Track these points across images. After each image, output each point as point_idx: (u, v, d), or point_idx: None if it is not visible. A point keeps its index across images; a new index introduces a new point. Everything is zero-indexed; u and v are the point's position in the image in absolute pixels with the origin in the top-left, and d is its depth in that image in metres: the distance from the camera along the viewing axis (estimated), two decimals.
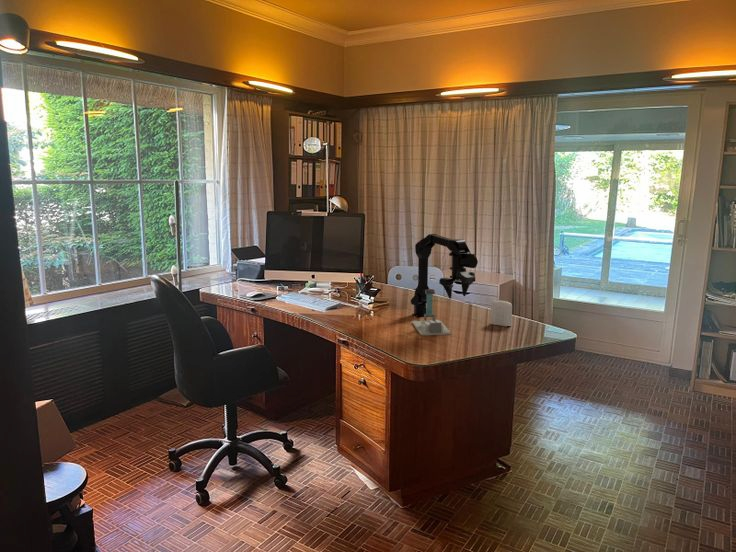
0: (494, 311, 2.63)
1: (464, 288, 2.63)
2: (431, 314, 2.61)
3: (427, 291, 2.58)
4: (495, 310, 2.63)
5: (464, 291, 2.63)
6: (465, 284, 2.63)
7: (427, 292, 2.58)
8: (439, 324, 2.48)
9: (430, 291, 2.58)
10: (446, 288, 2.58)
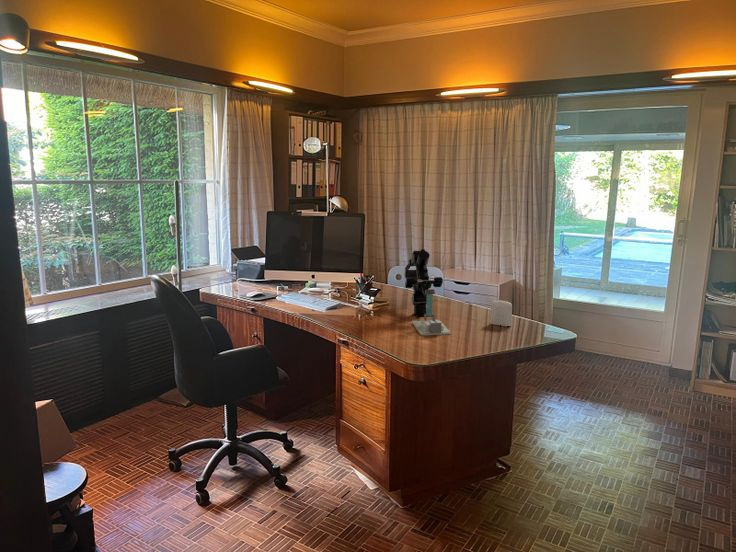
0: (494, 311, 2.63)
1: None
2: (431, 314, 2.61)
3: (427, 291, 2.58)
4: (495, 310, 2.63)
5: None
6: None
7: (427, 292, 2.58)
8: (439, 324, 2.48)
9: (430, 291, 2.58)
10: None
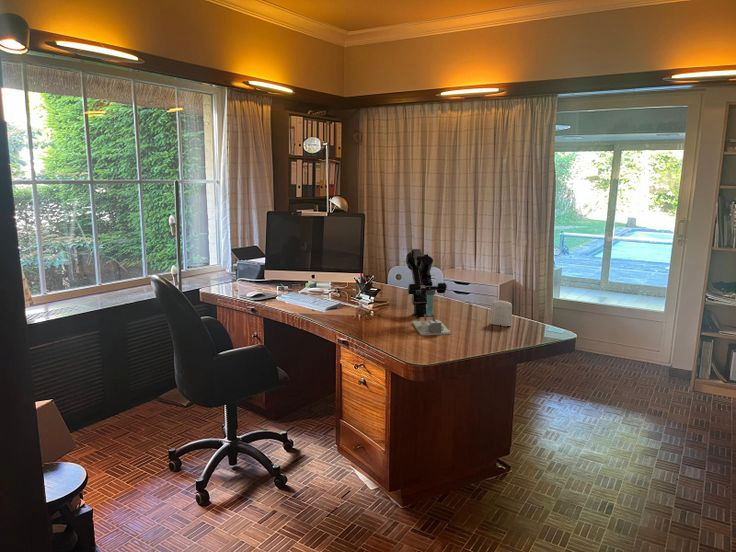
0: (494, 311, 2.63)
1: None
2: (431, 314, 2.61)
3: (427, 292, 2.57)
4: (495, 310, 2.63)
5: None
6: None
7: (427, 293, 2.57)
8: (439, 324, 2.48)
9: (431, 292, 2.57)
10: None
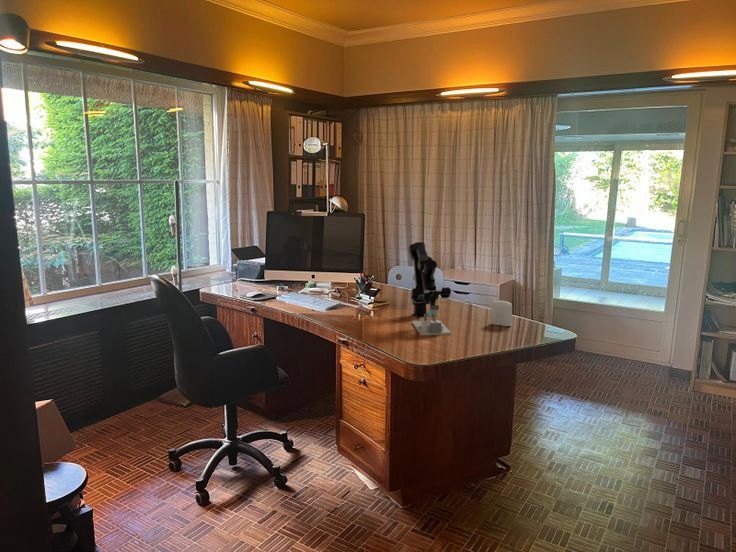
0: (494, 311, 2.63)
1: None
2: (431, 316, 2.61)
3: (431, 309, 2.49)
4: (495, 310, 2.63)
5: None
6: None
7: (431, 310, 2.50)
8: (439, 324, 2.48)
9: (434, 309, 2.50)
10: None
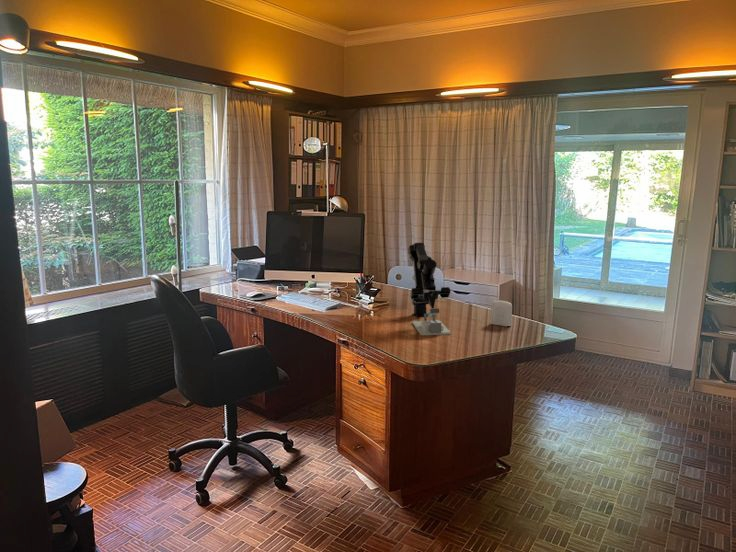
0: (494, 311, 2.63)
1: None
2: (431, 316, 2.61)
3: (432, 313, 2.49)
4: (495, 310, 2.63)
5: None
6: None
7: (431, 313, 2.50)
8: (439, 324, 2.48)
9: (435, 313, 2.49)
10: None
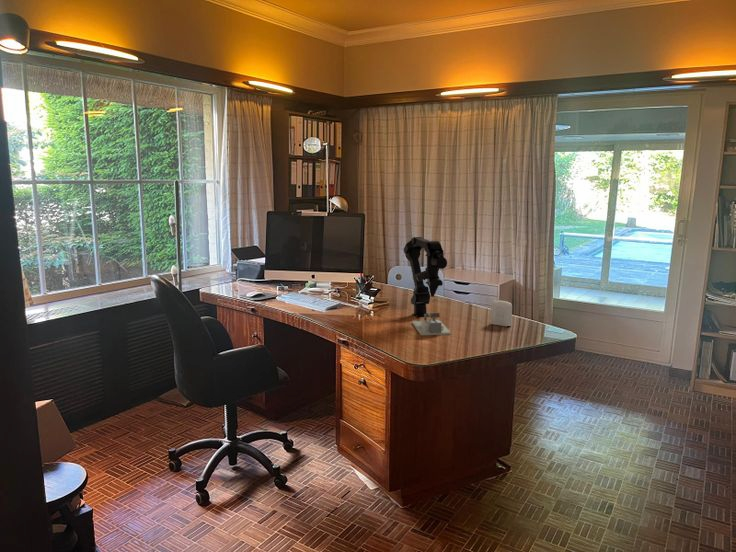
0: (494, 311, 2.63)
1: None
2: None
3: (432, 317, 2.49)
4: (495, 310, 2.63)
5: None
6: None
7: (432, 317, 2.49)
8: (439, 324, 2.48)
9: (435, 317, 2.49)
10: None
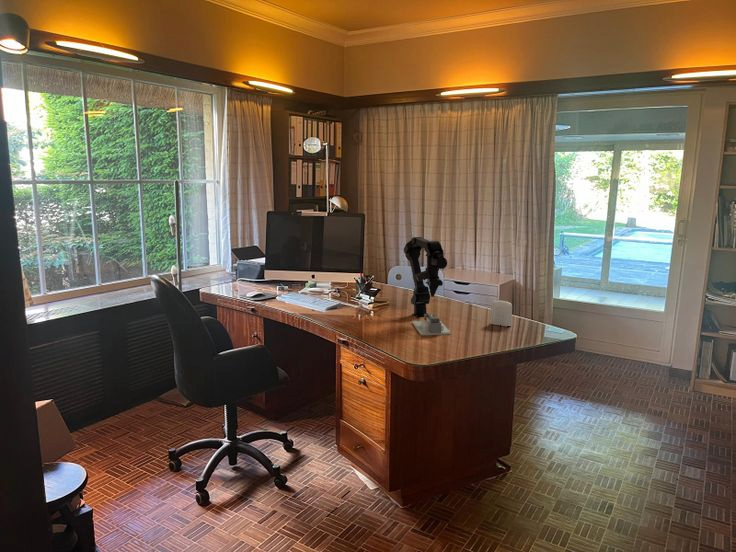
0: (494, 311, 2.63)
1: None
2: None
3: None
4: (495, 310, 2.63)
5: None
6: None
7: None
8: (439, 324, 2.48)
9: None
10: None
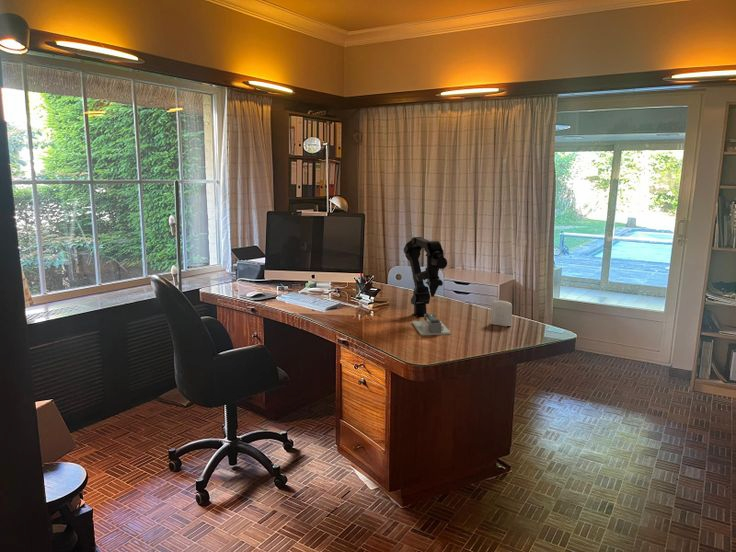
0: (494, 311, 2.63)
1: None
2: None
3: None
4: (495, 310, 2.63)
5: None
6: None
7: None
8: (439, 324, 2.48)
9: None
10: None
